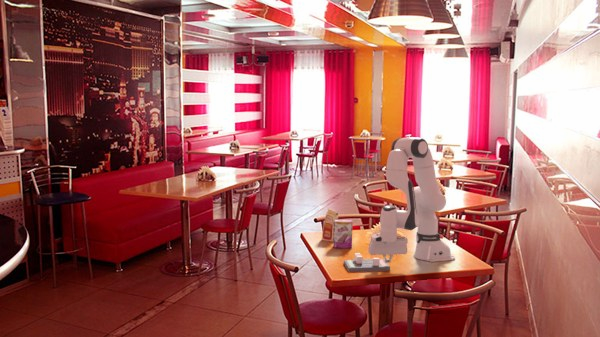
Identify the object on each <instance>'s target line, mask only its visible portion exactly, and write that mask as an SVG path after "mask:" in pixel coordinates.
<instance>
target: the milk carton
mask: <svg viewBox="0 0 600 337" xmlns="http://www.w3.org/2000/svg"><path fill="white" fill-rule="evenodd" d="M327 210H328V211H327V212H326V214H325V217H324V222H323V226H322V227H323V228H322V234H321V235H322V236H321V240H322V241H326V242H334V220H340V219H339V211H336V210H333V209H331V208H327Z"/></svg>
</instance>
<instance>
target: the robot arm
mask: <svg viewBox="0 0 600 337" xmlns="http://www.w3.org/2000/svg"><path fill="white" fill-rule="evenodd" d="M410 158H411V159H412V164H413V172H414V178H415V179H414V180H415V182H416V184H417V185H418V187H417V188H415V187H414V183H413V181H411V180H410V178H409V176H408V161H409V159H410ZM433 159H434V158H433V155H432V152H431V149H430V148H429V145H428V142H427V140H426V139H424V138H422V137H413V136H408V137H399V138H396V139H394V140H393V142H392V145H391V151H389V153H388V157H387V161H386V170H385V179H386V181H387V182H388V183H389V185H390V186H392V187H394V188H396V189H398V190H401V192H403V194H404V195H405V199H406V206H407V207H406V208H407V210H404V209H403V210H401V209H397V207H396V206H395V205H391V204H389V205H384V206H382V207H381V211H380V217H379V224H380V229H379V232H377V233H374V234H371V235H370V239H371V240H369V243H368V253H369V254H370V255H371V256H380V255H381V256H382V257H383V259H384V260H385V263H387V264H390V263H392V261H391V260H392V259H393V257H394V255H407V253H408V245H407V244H408V238H407V237H406V236H398V229H404V230H407V231H413V230H414V229H416V228H417V231H416V234H415V235H416V236H415V239H416V240H415V241H416V245H415V251H414V254H413V257H414V258H415V259H418V260H421V261H425V262H426V261H427V262H430V263H433V262H434V263H435V262H445V261H455V259H456V257H455V255H454V254H453V253H451V248H450V247H449V245H448V244H446V243H445V242H444V241H443V240H442V239H444V235H443V234H441V233H439V232H438V230H439V227H438V226H439V219H438V217H437V215H436V212H439V211H440V212H441V211H442V210H443V209H445V206H447V205H446V204H447V199H446V197H445V196H444V194H443V193H442V191H441V187H440V185H439V183H438V180H437V177H436V170H435V164H434V160H433ZM388 255H389V257H388V258H386V257H387V256H388Z"/></svg>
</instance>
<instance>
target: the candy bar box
mask: <svg viewBox="0 0 600 337" xmlns="http://www.w3.org/2000/svg"><path fill="white" fill-rule="evenodd" d="M353 221H354V220H348V219H346V220H345V219H339V220H334V241H333V248H334V249H352V248H353V247H352V246H353Z"/></svg>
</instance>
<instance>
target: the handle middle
mask: <svg viewBox="0 0 600 337" xmlns="http://www.w3.org/2000/svg"><path fill="white" fill-rule="evenodd" d="M362 262H363V255H361V256H356V263H357V264H359V263H362Z"/></svg>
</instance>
